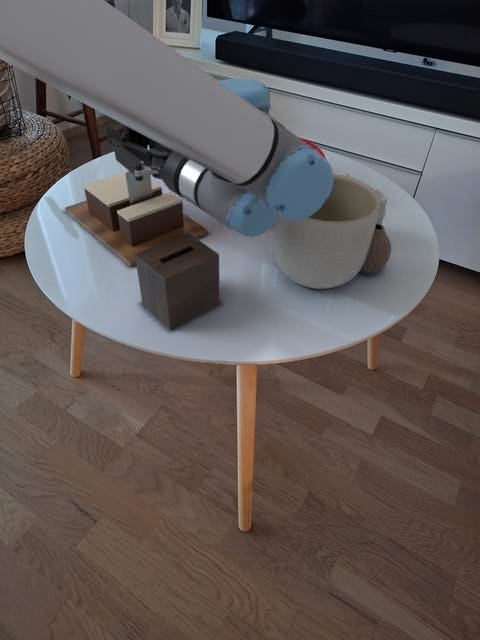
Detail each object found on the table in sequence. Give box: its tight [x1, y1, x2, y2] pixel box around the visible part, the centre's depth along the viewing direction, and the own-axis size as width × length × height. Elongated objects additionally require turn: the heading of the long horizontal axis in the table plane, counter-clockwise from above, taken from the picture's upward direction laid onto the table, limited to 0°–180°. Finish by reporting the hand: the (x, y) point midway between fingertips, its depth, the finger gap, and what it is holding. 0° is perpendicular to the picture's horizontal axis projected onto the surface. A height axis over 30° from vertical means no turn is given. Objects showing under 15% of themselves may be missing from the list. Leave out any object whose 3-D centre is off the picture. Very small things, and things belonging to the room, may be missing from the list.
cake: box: [83, 172, 163, 232], centre depth 95 cm, size 10×12×6 cm
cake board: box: [64, 199, 209, 268], centre depth 96 cm, size 26×18×1 cm
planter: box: [272, 173, 381, 290], centre depth 80 cm, size 17×17×15 cm
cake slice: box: [117, 191, 184, 247], centre depth 89 cm, size 4×12×6 cm, turn 131°
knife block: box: [135, 233, 220, 330], centre depth 74 cm, size 8×10×10 cm
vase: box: [359, 223, 392, 275], centre depth 83 cm, size 7×7×9 cm
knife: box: [122, 124, 153, 206], centre depth 85 cm, size 3×5×19 cm, turn 132°
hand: (117, 132), depth 85 cm, fingers closed on knife, 3 cm apart
